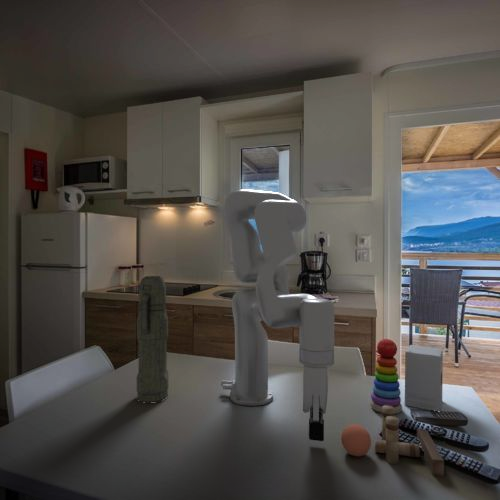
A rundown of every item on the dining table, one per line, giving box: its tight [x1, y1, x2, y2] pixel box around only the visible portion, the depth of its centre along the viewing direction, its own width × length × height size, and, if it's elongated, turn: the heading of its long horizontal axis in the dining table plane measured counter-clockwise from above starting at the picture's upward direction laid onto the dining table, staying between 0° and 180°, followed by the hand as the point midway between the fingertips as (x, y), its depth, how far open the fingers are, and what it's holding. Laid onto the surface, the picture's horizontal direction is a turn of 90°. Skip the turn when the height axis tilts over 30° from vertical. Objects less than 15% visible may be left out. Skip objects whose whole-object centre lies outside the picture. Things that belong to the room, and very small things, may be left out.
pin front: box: [374, 439, 421, 458], centre depth 76 cm, size 2×2×8 cm
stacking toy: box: [369, 338, 403, 415], centre depth 97 cm, size 8×8×19 cm
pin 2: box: [385, 416, 400, 465], centre depth 74 cm, size 2×2×8 cm
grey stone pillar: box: [136, 275, 169, 403], centre depth 105 cm, size 9×12×35 cm
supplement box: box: [404, 344, 444, 412], centre depth 101 cm, size 9×9×15 cm
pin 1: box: [381, 405, 395, 441], centre depth 79 cm, size 2×2×8 cm
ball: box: [340, 423, 372, 457], centre depth 76 cm, size 6×6×6 cm
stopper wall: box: [416, 428, 445, 477], centre depth 75 cm, size 2×12×3 cm, turn 168°
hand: (316, 438), depth 80 cm, fingers closed
